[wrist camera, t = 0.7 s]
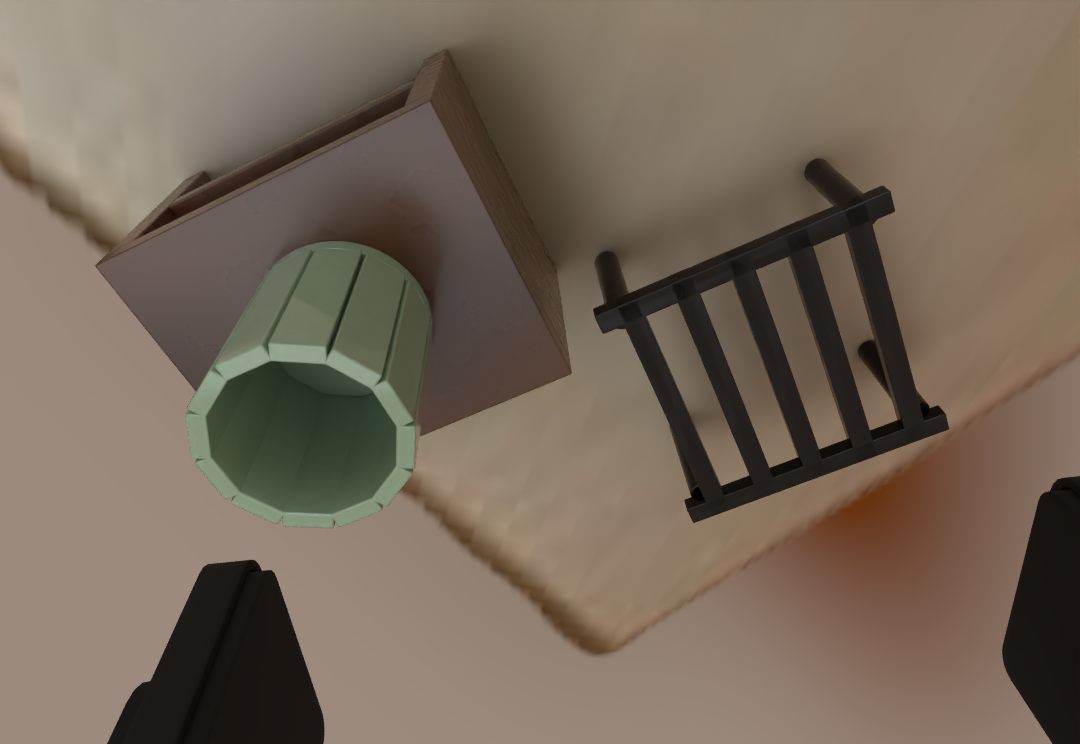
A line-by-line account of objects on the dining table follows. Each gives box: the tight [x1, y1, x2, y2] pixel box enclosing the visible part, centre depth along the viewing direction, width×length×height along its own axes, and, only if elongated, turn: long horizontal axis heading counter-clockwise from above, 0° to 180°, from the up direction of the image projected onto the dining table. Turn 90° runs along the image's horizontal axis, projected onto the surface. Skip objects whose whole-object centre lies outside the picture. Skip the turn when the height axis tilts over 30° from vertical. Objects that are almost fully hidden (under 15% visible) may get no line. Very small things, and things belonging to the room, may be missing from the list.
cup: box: [186, 241, 433, 528], centre depth 29 cm, size 7×7×8 cm
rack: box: [593, 159, 949, 523], centre depth 41 cm, size 13×13×7 cm
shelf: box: [96, 49, 572, 436], centre depth 37 cm, size 12×14×10 cm
